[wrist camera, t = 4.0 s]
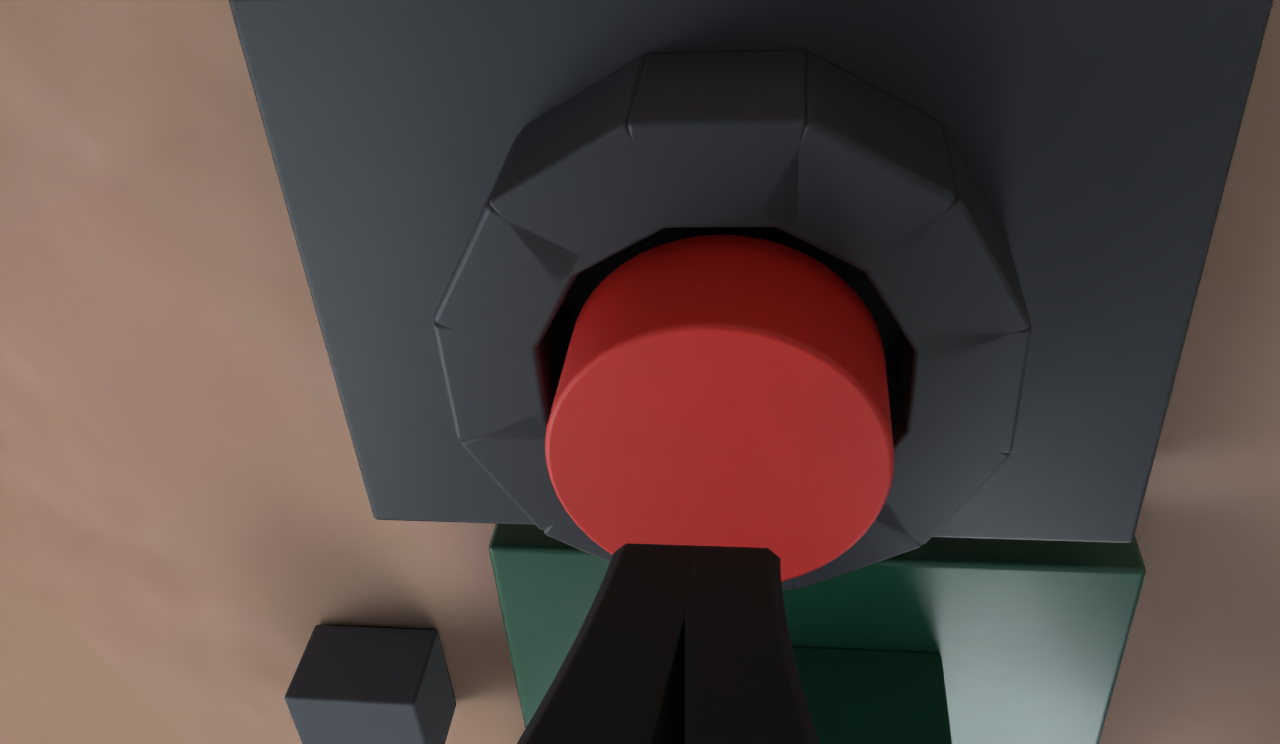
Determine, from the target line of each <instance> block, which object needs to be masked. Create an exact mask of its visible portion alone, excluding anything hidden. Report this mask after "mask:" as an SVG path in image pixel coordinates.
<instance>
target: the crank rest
mask: <svg viewBox="0 0 1280 744" xmlns="http://www.w3.org/2000/svg"><path fill="white" fill-rule="evenodd" d="M285 700H286V703H287V705H288V708H289V710H290V713H291V715H292V718H293V720H294V723H295V726H296V728H297V731H298V733H299V736H300V738H301V741H302V743H303V744H445V741H446V738H447V734H448V731H449V727H450V724H451V720H452V717H453V713H454V710H455V706H456V701H455V697H454V693H453V690H452V686H451V682H450V678H449V674H448V670H447V666H446V662H445V658H444V655H443V651H442V647H441V643H440V639H439V635H438V632H437V631H436V630H419V629H397V628H374V627H351V626H328V625H317V626H315V628H314V631H313V633H312V635H311V637H310V640H309V642H308V644H307V647H306V649H305V651H304V654H303V656H302V658H301V660H300V663H299V665H298V667H297V670H296V672H295V674H294V676H293V679H292V681H291V683H290V686H289V688H288V690H287V692H286V695H285Z"/></svg>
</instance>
